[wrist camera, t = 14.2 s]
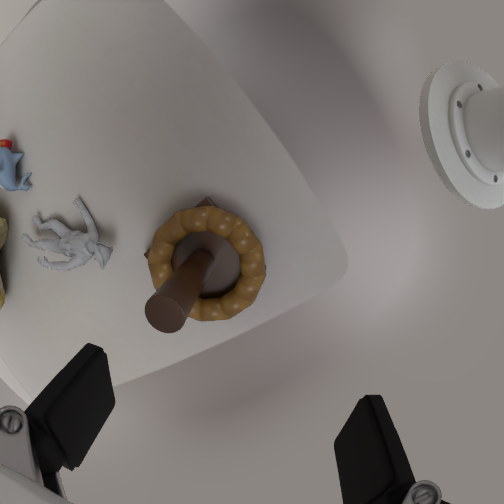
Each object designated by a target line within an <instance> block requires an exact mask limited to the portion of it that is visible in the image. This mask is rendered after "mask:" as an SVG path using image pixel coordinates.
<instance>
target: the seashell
mask: <svg viewBox="0 0 504 504" xmlns="http://www.w3.org/2000/svg"><path fill="white" fill-rule="evenodd" d="M7 232H8V225H7V222H6V220H5V219H4V218H1V217H0V249H1V248H2V246H3V245H4V243H5V240H6V238H7ZM4 300H5V291H4V289H3V283H2V279H1V275H0V310H1V308H2V306H3V304H4Z"/></svg>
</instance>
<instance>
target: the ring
mask: <svg viewBox="0 0 504 504" xmlns="http://www.w3.org/2000/svg"><path fill="white" fill-rule="evenodd" d="M202 231H209V232H212V233H214V234H217V235H219V236H221V237H224V238H226V239H227V240H228V241H229V243H230V244H231V245H232V246H233V248H234V249H235V250H236V251H237V253H238V254H239V260H240V267H241V274H240V276H239V279H238V281H237V284H236V286H235V288H234V289H232V290H231V291H229V292H228V293H227V294H225V295H224V296H222V297H220V298H209V299H202V298H200V297H198V299H197V300H196V302H195V304H194V306H193V308H192V310H191V312H190V314H189V315H188V317H190V318H193V319H195V320H198V321H215V320H227V319H230V318H232V317H233V316H235V315H236V314H238V313H239V312H241V311H242V310H244V309H245V308H247V307H248V306H250V305H251V304H252V303H253V302H254V301H255V299H256V297H257V295H258V292H259V290H260V288H261V286H262V284H263V281H264V279H265V276H266V270H265V262H264V255H263V247H262V244H261V242H260V240H259V239H258V238H257V237H256V235H255V234H254V233H253V232H252V230H251V229H250V228H249V226H248V225H247V224H246V223H245V221H244V220H243V219H242V218H241V217H239V216H236V215H234V214H231V213H229V212H226V211H224V210H221V209H219V208H216V207H214V206H202V207H196V208H190V209H184V210H180V211H178V212H176V213H175V214H174V215H173V216H172V217H171V218H170V219H168V220H167V221H166V222H165V223H164V224H163V225H162V226H161V227H159V228H158V229H157V231H156V232H155V235H154V238H153V242H152V245H151V249H150V252H149V256H148V264H149V269H150V273H151V277H152V281H153V285H154V288H155V290H156V291H157V290H158V289H159V288H160V286H161V285H162V284H163V283H164V282H165V281H166V280H167V279H168V278H169V277H170V276H171V274H172V273H173V269H172V265H171V258H172V255H173V251H174V248H175V245H176V244H177V243H178V242H179V241H180V240H182V239H183V238H184V237H185V236H186V235H188V234H189V233H195V232H202Z"/></svg>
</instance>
